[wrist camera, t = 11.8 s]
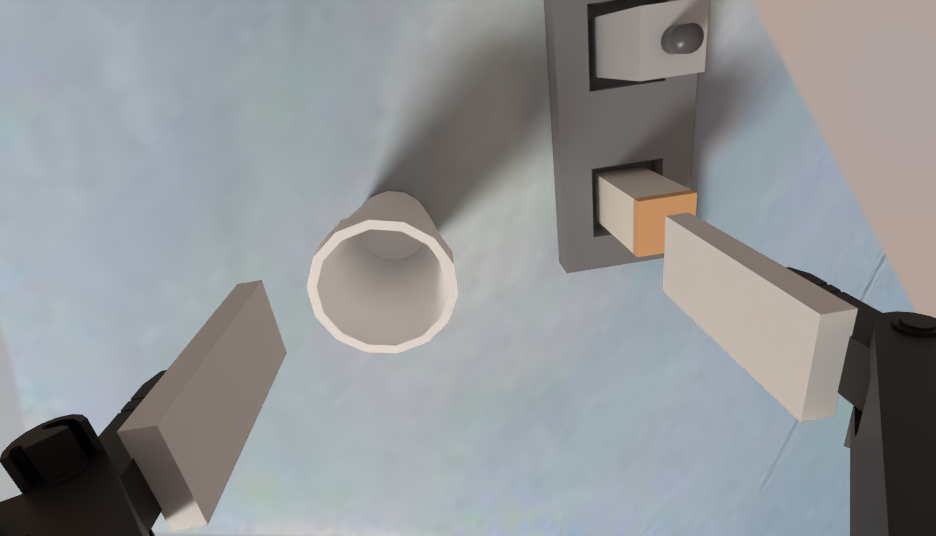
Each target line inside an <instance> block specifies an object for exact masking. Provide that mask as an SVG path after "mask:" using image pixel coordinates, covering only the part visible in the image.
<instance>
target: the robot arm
mask: <svg viewBox="0 0 936 536" xmlns="http://www.w3.org/2000/svg"><path fill="white" fill-rule="evenodd" d="M663 292H664V293H666V294H667V295H668V296H669V297H670V298H671V299H672V300H673V301H674V302H675V303H676V304H677V305H678V306H679V307H680V308H681V309H682V310H683V311H684V312H685V313H686V314H688V315H689V316H690V317H691V318H692V319H693V320H694V321H695V322H696V323H697V324H698V325H699V326H700V327H701V328H702V329H703V330H704V331H705V332H706V333H707V334H708V335H710V336H711V337H712V338H713V339H714V340H715V341H716V342H717V343H718V344H719V345H720V346H721V347H722V348H723V349H724V350H725V351H726V352H727V353H728V354H729V355H731V356H732V357H733V358H734V359H735V360H736V361H737V362H738V363H739V364H740V365H741V366H742V367H743V368H744V369H745V370H746V371H747V372H748V373H749V374H750V375H751V376H753V377H754V378H755V379H756V380H757V381H758V382H759V383H760V384H761V385H762V386H763V387H764V388H765V389H766V390H767V391H768V392H769V393H770V394H771V395H772V396H774V397H775V398H776V399H777V400H778V401H779V402H780V403H781V404H782V405H783V406H784V407H785V408H786V409H787V410H788V411H789V412H790V413H791V414H792V415H793V416H794V417H796V418H797V419H798V420H799V421H800V422H806V421H811V420H817V419H823V418H829V417H834V414H835V409H836V405H837V400H838V396H839V394H840V395H841V396H843V397H844V398H845V399H846V400H848V401H849V402H850V403H851V404H853V405H854V406H853V410H852V414H851V419H850V423H849V427H848V431H847V435H846V439H845V444H844V446H845V447H849V448H850V536H936V318H933V317H931V316H927V315H922V314H917V313H912V312H898V311H897V312H887V313H881V312H880V311H878V310H876V309H874V308H872V307H870V306H869V305H867V304H865V303H863V302H861V301H860V300H858V299H856V298H854V297H852V296H850V295H849V294H847V293H845V292H841V291H840V290H839V289H838V288H836V287H834V286H832V285H827V282H825V281H823V280H821V279H819V278H818V277H816V276H814V275H812V274H810V273H807V272H803V271H800V270H797V269H793V268H790V267H787V268H786V267H784V266H782V265H780V264H779V263H777V262H775V261H773V260H772V259H770V258H768V257H766V256H765V255H763V254H761V253H759V252H757V251H756V250H754V249H752V248H750V247H749V246H747V245H745V244H743V243H742V242H740V241H738V240H736V239H735V238H733V237H731V236H729V235H728V234H726V233H724V232H722V231H721V230H719V229H717V228H715V227H714V226H712V225H710V224H708V223H706V222H705V221H703V220H701V219H699V218H698V217H696V216H694V215H692V214H691V213H689V212H688V213H681V214H675V215H669V216H666V220H665V249H664V279H663ZM286 353H287V352H286V350H285V347H284V344H283V341H282V338H281V335H280V332H279V329H278V326H277V323H276V320H275V317H274V314H273V311H272V309H271V306H270V303H269V300H268V297H267V294H266V291H265V288H264V285H263V282H262V280H260V281H253V282H247V283H241V284H237V285H236V287H235V288H234V289H233V290H232V291H231V293H230V294H229V295H228V296H227V298H226V299H225V300H224V301H223V302H222V304H221V305H220V306H219V307H218V309H217V310H216V311H215V312H214V313H213V315H212V316H211V317H210V318H209V320H208V321H207V322H206V323H205V325H204V326H203V327H202V328H201V329H200V331H199V332H198V333H197V334H196V336H195V337H194V338H193V339H192V340H191V342H190V343H189V344H188V345H187V347H186V348H185V349H184V350H183V351H182V353H181V354H180V355H179V356H178V358H177V359H176V360H175V361H174V362H173V364H172V365H171V366H170V367H169V369H168V370H165V371H161V372H159V373H158V374H157V375H155V376H154V377H153V378H151V379H150V380H149V381H147V382H146V383H144V384H143V385H142V386H141V387H140V389H139V390H138V391H137V392H136V393H135V394H134V396H133V397H132V398H131V401H129V402H128V403H127V404H126V405H125V406H124V407H123V409H122V410H121V413H118V414H117V416H116V417H115V418H114V419H113V420H112V421H111V423H110V424H109V425H108V426H107V427H106V428H105V430H104V431H103V432H102V433H101V434H100V435H99V437H98V436H97V435H96V433H95V431H94V429H93V428H92V426H91V424H90V423H89V421H88V419H87V418H86V417H84V416H83V415H76V414H71V415H67V416H62V417H58V418H55V419H52V420H50V421H47V422H45V423H42V424H40V425H38V426H36V427H35V428H33V429H31V430H29V431H27V432H25V433H24V434H23V435H21V436H20V437H18V438H17V439H16V440H14V441H13V442H12V443H11V444H10V445H9V446H8V447H7V448H6V449H5V450H4V451H3V452H2V454H1V457H0V463H1V464H2V465H3V467H4V468H5V470H6V471H7V473H8V474H9V475H10V477H11V478H12V479H13V481H14V482H15V484H16V485H17V487H18V488H19V489H20V491H21V492H22V494H21V495H18V496H16V497H13V498H10V499H7V500H5V501H2V502H0V536H155V534H154V533H153V531H152V529H151V528H152V526H153V525H154V523H155V521H156V519H157V518H158V516H159V514H160V512H161V513H162V514H163V516H164V518H165V520H166V522H167V523H168V525H169V527H170V529H171V531H175V530H181V529H187V528H193V527H198V526H204V525H208V523H209V521H210V519H211V517H212V515H213V512H214V510H215V508H216V506H217V504H218V501H219V499H220V497H221V495H222V493H223V491H224V488H225V486H226V484H227V482H228V480H229V477H230V475H231V473H232V471H233V469H234V466H235V464H236V462H237V460H238V458H239V456H240V453H241V451H242V449H243V447H244V445H245V442H246V440H247V438H248V436H249V434H250V432H251V429H252V427H253V425H254V423H255V421H256V418H257V416H258V414H259V412H260V410H261V408H262V405H263V403H264V401H265V399H266V397H267V394H268V392H269V390H270V388H271V386H272V383H273V381H274V379H275V377H276V375H277V373H278V370H279V368H280V366H281V364H282V362H283V359H284V357H285V355H286Z"/></svg>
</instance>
